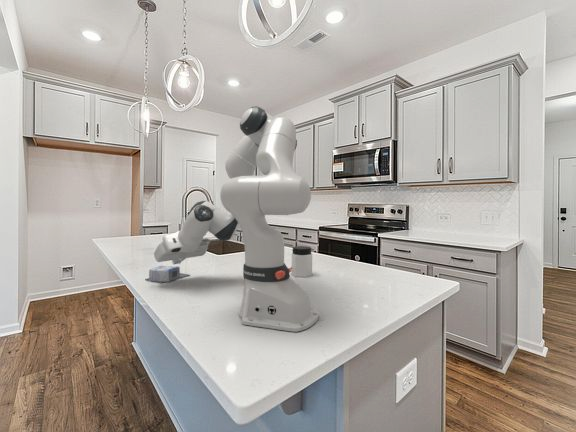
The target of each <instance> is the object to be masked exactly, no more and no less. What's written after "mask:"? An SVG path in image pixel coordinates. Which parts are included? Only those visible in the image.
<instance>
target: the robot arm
mask: <svg viewBox="0 0 576 432" xmlns="http://www.w3.org/2000/svg"><path fill="white" fill-rule="evenodd" d="M239 129H240V131H242V133H243V134H244V136H243V137H241V139H240V140H239V141H238V142H237V144H236V145H235V146H234V147H233V148H232V150H231V152H229V153H230V154H229V155H228V157H227V159H226V161H225V166H224V167H225V171H226V173H227V176H228V179H226V180H225V181H224V183H222V186H221V188H220V201H221V204H222V206H223V208H224V209H225V210H226V211H227V212H228V213H229V214H227V213H226V212H225V211H223V210H222V209H220V208H219V207H218V206H216V205H214V204H213V203H212V202H210V201H209V200H201V201H198V202H196V203H195V204H194V205H192V207H191V208H190V210H189V212H188V214H187V215H186V216H187V217H186V218H185V220H184V222H183V226H182V228H180V230H177V231H175V232H174V233H170V234H167V235H164V236H163V237H162V242H160V243H159V244H158V245H157V246H156V249H155V250H154V252H153V255H154V260H155V261H156V262H157V263H163V262H168V261H172V262H171V263H172V266H175V265H180V264H181V263H182V262H183V261H185V260H186V259H189V258H195V257H203V256H205V254H206V253H207V251H208V250H209V245H210V243H211V239H209V238H207V237H206V238H204V237H205V236H206V235H207V233H208V232H209V233H210V234H212V235H213V237H215V238H217V239H218V240H219V241H221V242H222V241H223V242H224V241H229V240H231V239H233V237H234V235H235V234H236V233H237V230H238V228H239V227H240V229H241V232H242V236H243V237H242V238H243V243H244V244H243V245H244V264H243V269H242V270H243V271H242V274H243V281H244V282H243V283H244V285H243V294H242V300H241V305H240V309H239V312H238V315H239V317H240V318H241V319H242V321H241V323H242V325H245V326H252V327H256V328H257V327H258V328H264V329H272V330H279V331H280V330H281V331H285V332H286V331H287V332H293V333H294V332H295V333H296V332H301V331H305V330H307V329H308V328H310V327H312V326H313V325H315V324H316V323H317V321H318V320H319V317H320V316H319V310H316V309H314V308H312V306H311V300H310V296H309V293H307V292H306V291H305V290H304V289H303V288H302V287H301V286H300V285H299V284H297V283H296V282H295V281H294V280H293V278H291V276H290V275H291V274H290V273H292V266H291V267H288V266H287V265H286V263H285V237H284V236H283V235H282V233H281V232H280V231H279V230H278V229H276V228H273V227H272V226H271V225H269V223H268V222H267V219H266V216H290V215H297V214H301V213H304V212H305V210H307V209H308V207H309V205H310V202H311V200H312V192H311V191H312V190H311V188H310V185H309V183H308V182H307V180H306V179H305V178H304V177H302V176H301V175H299V174H297V173H296V171H295V169H294V167H293V162H294V156H295V151H296V149H297V145H298V140H297V131H296V130H297V129H296V126H295V124H294V122H293V121H292V120H290V119H289V118H287V117H284V116H283V117H282V116H278V117H273V116H272V115H271V114H270V113H268V112H267V111H266V110H265V109H263V108H261V107H259V106H257V105H256V106H251V107H249V108H248V109H247V110H245V112H244V113H243V114H242V116H241V119H240V122H239ZM257 168H258V170H259V172H261V173H262V174H263V175H254V173H255V171H256V169H257Z"/></svg>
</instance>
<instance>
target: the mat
mask: <svg viewBox="0 0 576 432" xmlns="http://www.w3.org/2000/svg"><path fill="white" fill-rule="evenodd" d="M190 276H191V274H189V273H181V272H180V277H178V278H176V279H173V280H171V281H169V282H172V281H177V280H179V279H182V278H183V279H184V278H187V277H190ZM145 281H149V282H153V283H156V284H157V283H158V284H166V283H167V282H163V281H150V280H149V277H148V278H145ZM169 282H168V283H169Z"/></svg>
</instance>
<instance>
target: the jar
mask: <svg viewBox="0 0 576 432" xmlns="http://www.w3.org/2000/svg"><path fill="white" fill-rule="evenodd" d="M291 251H292V253H291V267H292V269H291V270H292V271H291V275H292V276H293V277H295V278H309V277H311V276H313V253H312V247H311V246H303V245H299V246H298V245H296V246H293V247H292V250H291Z"/></svg>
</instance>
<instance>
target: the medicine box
mask: <svg viewBox="0 0 576 432" xmlns="http://www.w3.org/2000/svg"><path fill="white" fill-rule="evenodd" d="M180 269H181V267H180V266H175V265H160V266H156V267H154V268H153V267H152V268H150V269H149V271H148V272H149V273H148V275H149V276H148V278H149V280H150V281H149V282H152V281H163V282H166V283H169V281H170V282H172V281H171V280H173V279H176V278H178V277H180V273H181V270H180ZM173 281H174V280H173Z"/></svg>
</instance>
